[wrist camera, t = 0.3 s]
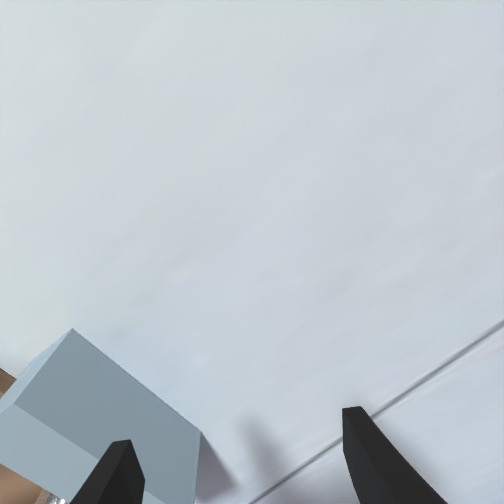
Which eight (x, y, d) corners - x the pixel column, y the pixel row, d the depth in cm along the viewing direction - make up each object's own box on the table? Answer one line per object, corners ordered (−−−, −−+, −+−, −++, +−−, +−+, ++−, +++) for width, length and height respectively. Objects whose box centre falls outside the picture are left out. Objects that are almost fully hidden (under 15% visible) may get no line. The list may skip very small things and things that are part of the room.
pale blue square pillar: (201, 429, 24) (192, 521, 18) (156, 459, 25) (134, 555, 19) (73, 326, 20) (12, 403, 15) (25, 365, 21) (-50, 452, 15)
